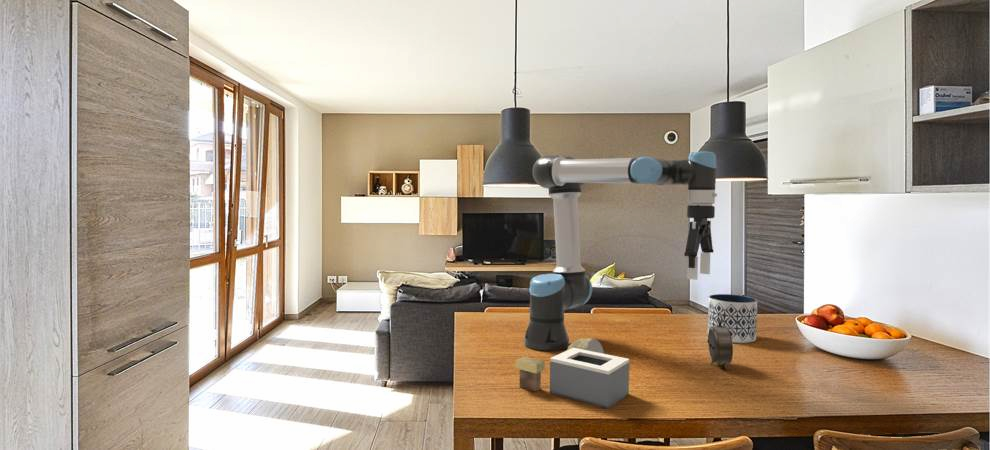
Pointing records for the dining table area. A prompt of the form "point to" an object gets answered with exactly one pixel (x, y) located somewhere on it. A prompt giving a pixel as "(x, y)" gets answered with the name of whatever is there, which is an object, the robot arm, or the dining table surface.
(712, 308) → the planter
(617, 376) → the box
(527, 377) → the stand
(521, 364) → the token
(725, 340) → the alarm clock
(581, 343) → the coral
